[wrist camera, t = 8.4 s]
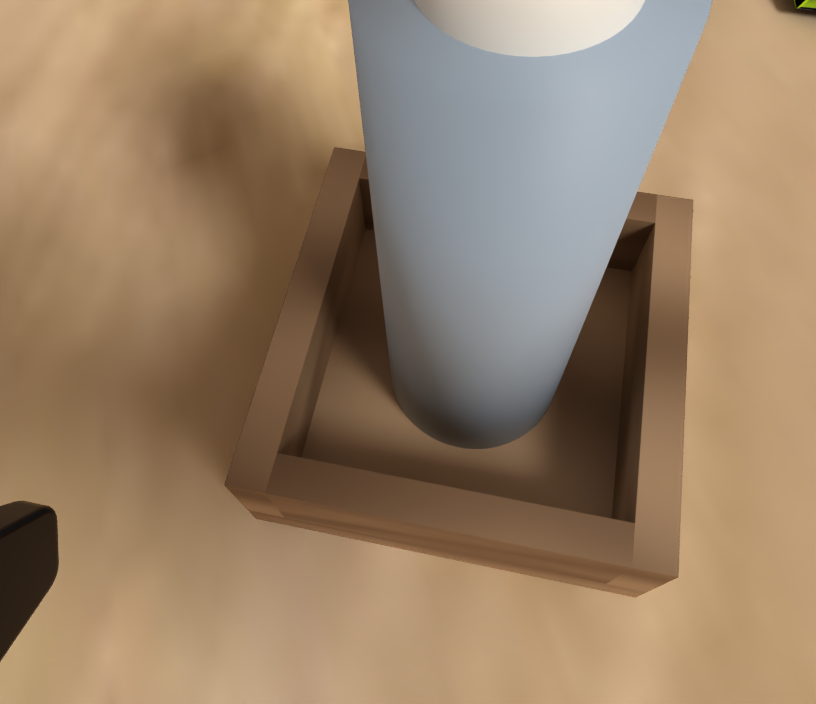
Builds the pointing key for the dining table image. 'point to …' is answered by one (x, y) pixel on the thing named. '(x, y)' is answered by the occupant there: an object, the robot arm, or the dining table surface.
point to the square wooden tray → (478, 468)
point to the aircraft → (805, 4)
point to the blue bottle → (504, 185)
